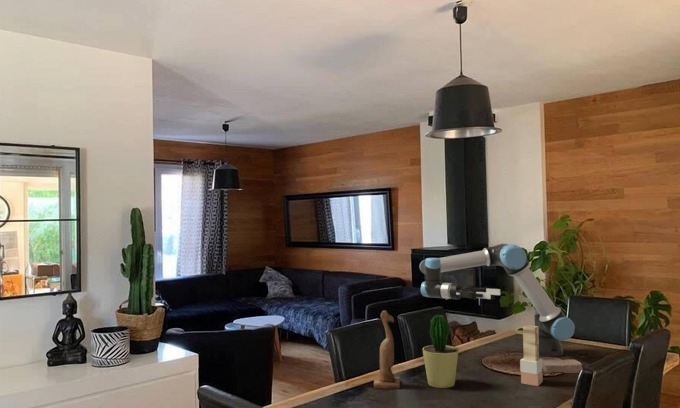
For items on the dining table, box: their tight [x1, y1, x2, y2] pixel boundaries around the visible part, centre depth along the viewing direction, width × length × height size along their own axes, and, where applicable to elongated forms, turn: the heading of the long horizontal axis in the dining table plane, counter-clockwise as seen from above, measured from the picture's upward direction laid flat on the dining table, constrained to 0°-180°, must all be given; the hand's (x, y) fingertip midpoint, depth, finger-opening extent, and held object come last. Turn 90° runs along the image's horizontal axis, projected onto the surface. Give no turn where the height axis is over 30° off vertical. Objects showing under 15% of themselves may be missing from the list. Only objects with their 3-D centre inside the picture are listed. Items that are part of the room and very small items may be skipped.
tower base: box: [520, 370, 544, 387], centre depth 221 cm, size 7×7×5 cm
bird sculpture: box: [373, 310, 401, 390], centre depth 222 cm, size 11×12×32 cm
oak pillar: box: [522, 324, 540, 362], centre depth 222 cm, size 5×5×14 cm
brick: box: [542, 359, 583, 374], centre depth 238 cm, size 17×8×5 cm, turn 85°
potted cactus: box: [422, 314, 460, 389], centre depth 222 cm, size 15×15×30 cm
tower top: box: [519, 357, 543, 374], centre depth 222 cm, size 7×7×5 cm
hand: (495, 294), depth 237 cm, fingers open, 13 cm apart
